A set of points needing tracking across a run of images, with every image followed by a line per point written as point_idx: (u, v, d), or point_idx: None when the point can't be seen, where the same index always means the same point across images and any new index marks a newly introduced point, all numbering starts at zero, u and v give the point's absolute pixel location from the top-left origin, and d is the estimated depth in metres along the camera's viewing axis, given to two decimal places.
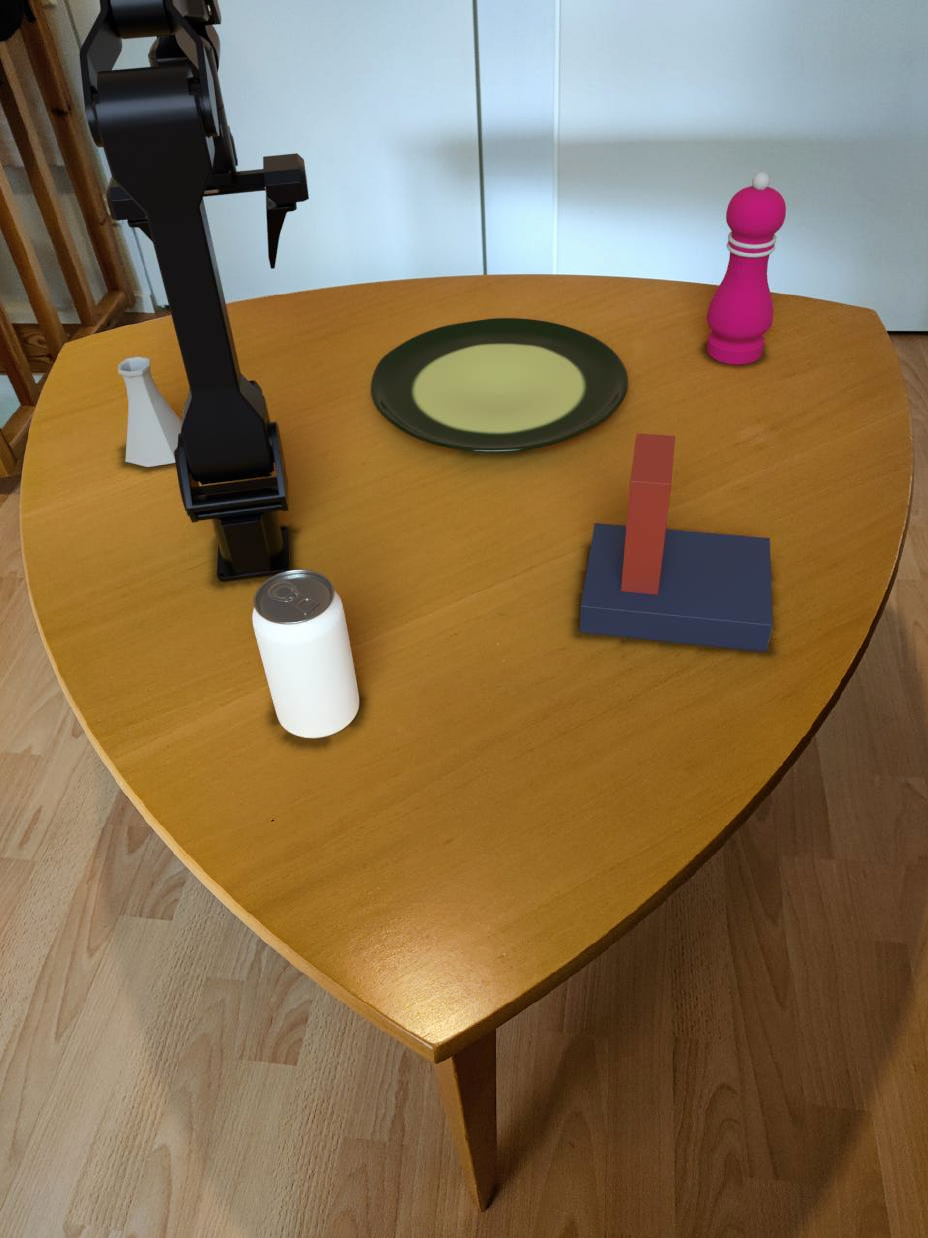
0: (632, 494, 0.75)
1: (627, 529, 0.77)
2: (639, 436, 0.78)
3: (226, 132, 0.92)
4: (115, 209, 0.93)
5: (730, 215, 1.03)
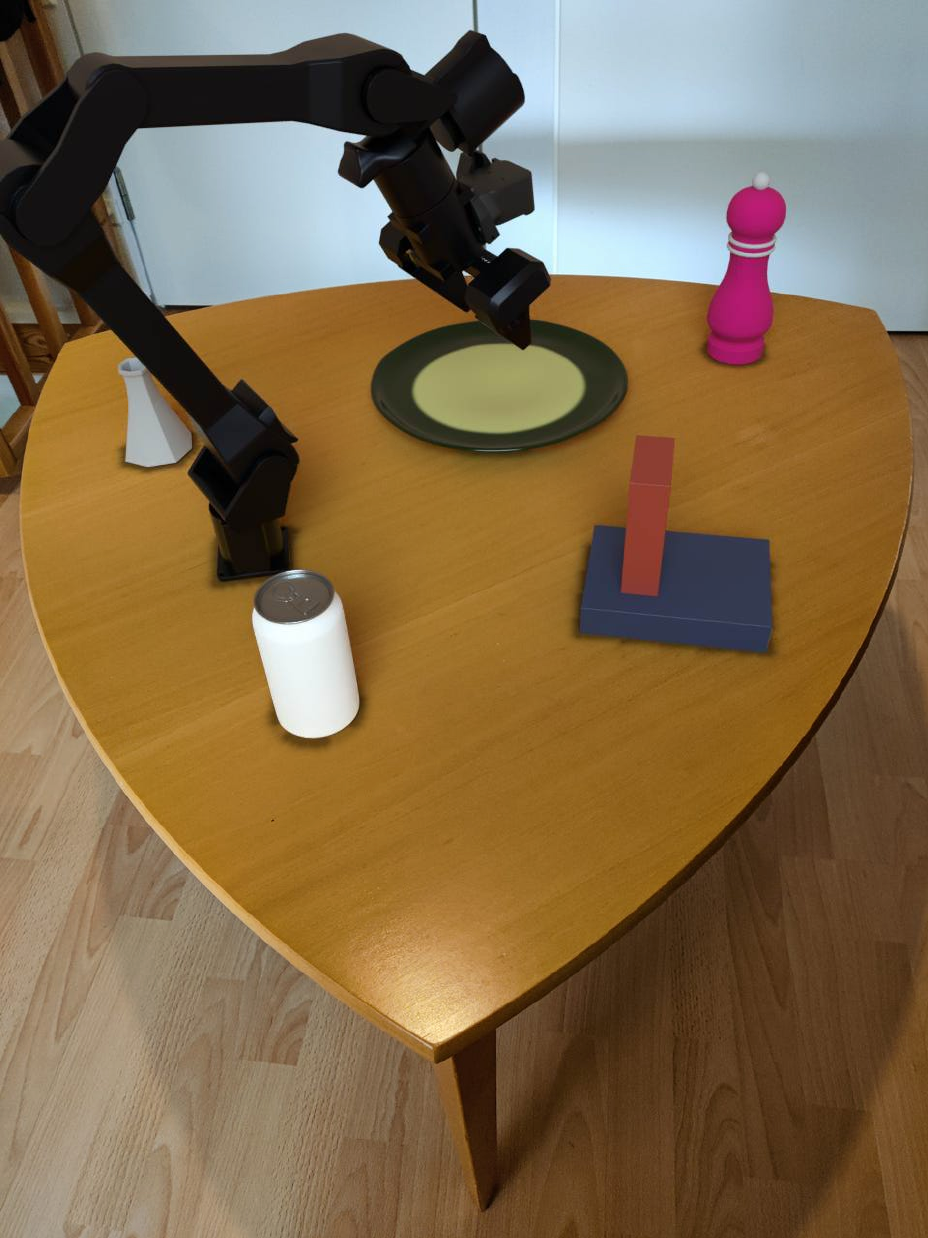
0: (632, 496, 0.75)
1: (627, 531, 0.77)
2: (639, 438, 0.78)
3: (443, 230, 0.80)
4: (383, 250, 0.91)
5: (730, 215, 1.03)
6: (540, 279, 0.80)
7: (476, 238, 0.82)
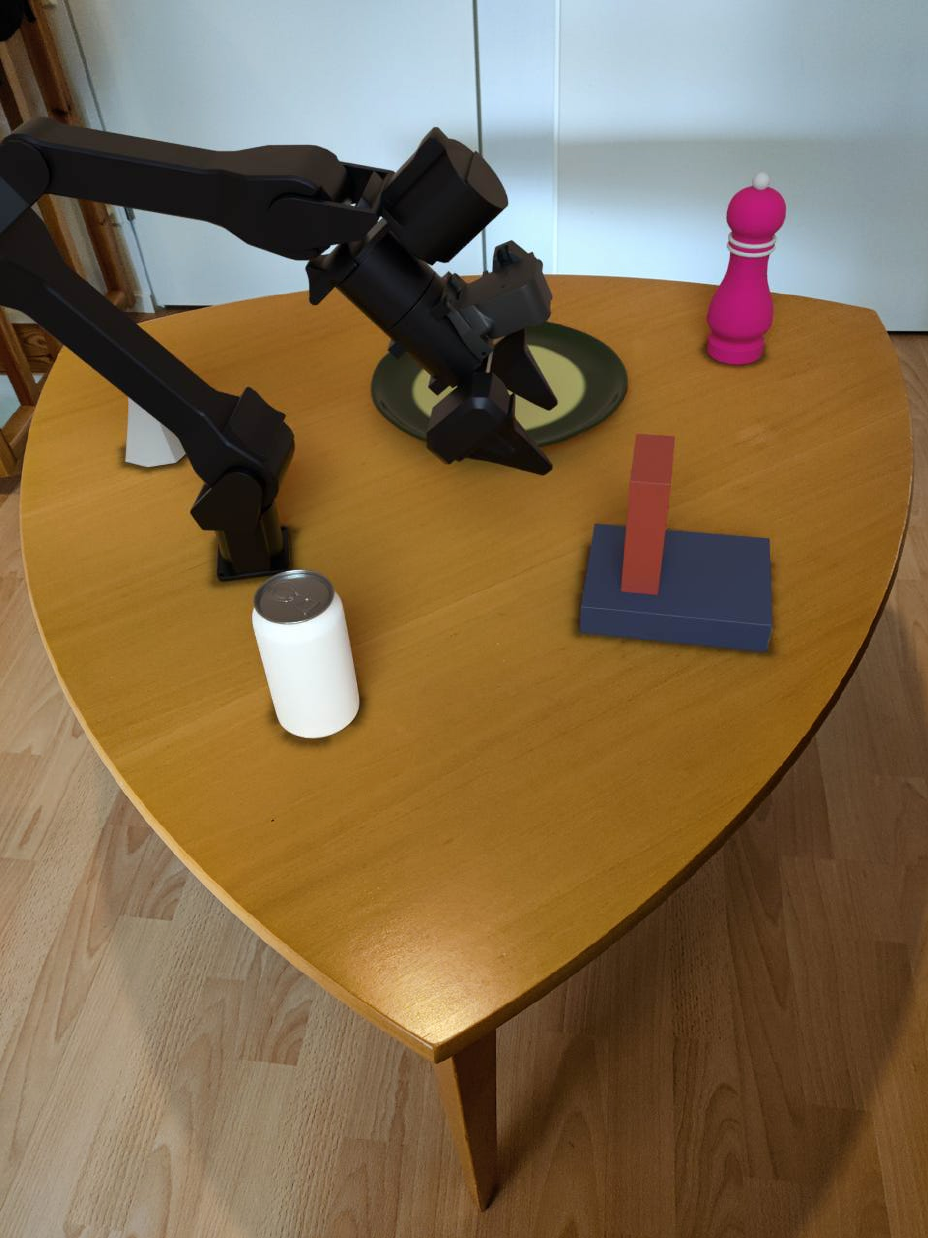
0: (632, 494, 0.75)
1: (627, 529, 0.77)
2: (639, 436, 0.78)
3: (415, 346, 0.72)
4: None
5: (730, 215, 1.03)
6: (483, 417, 0.68)
7: (465, 353, 0.72)
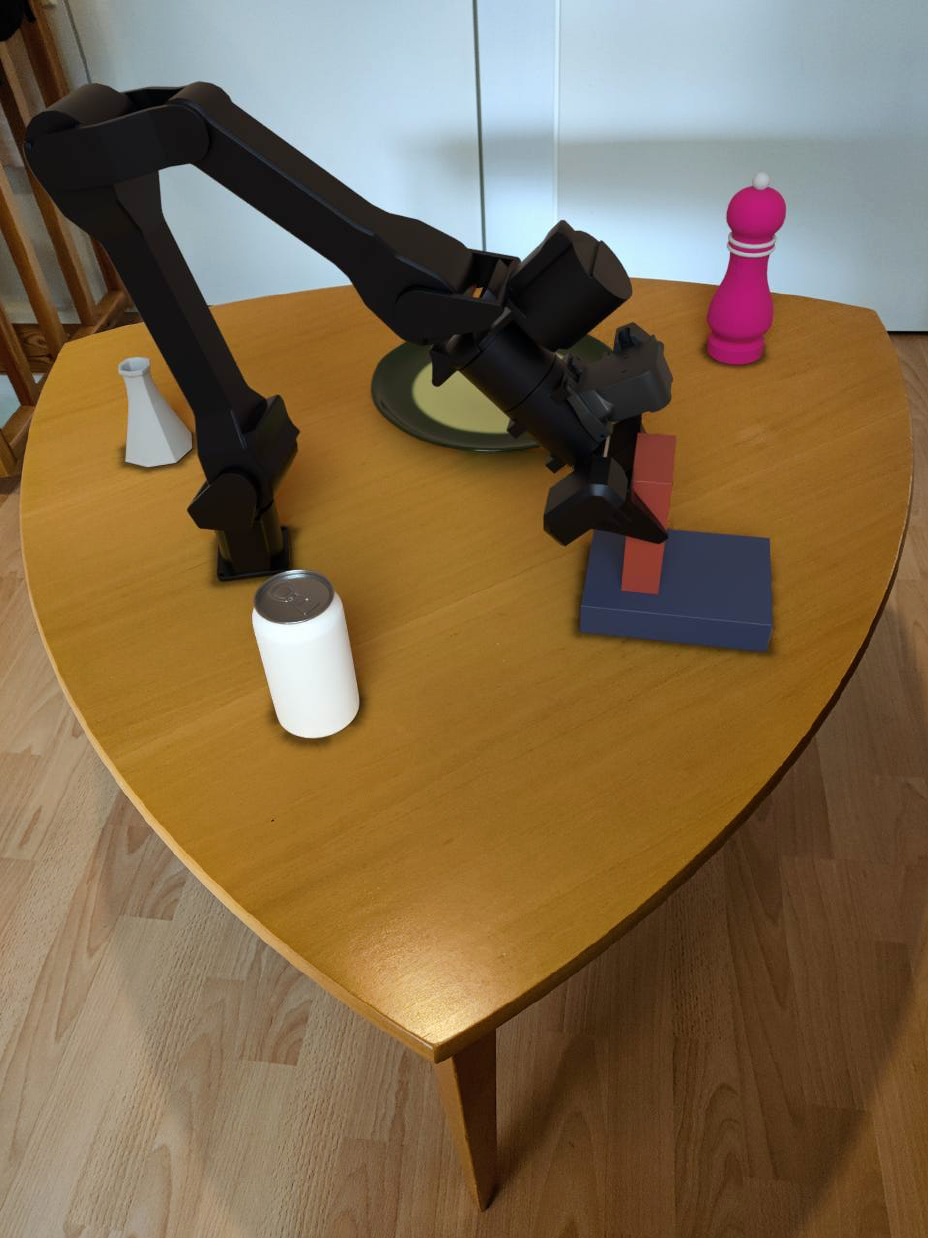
0: None
1: None
2: (640, 436, 0.78)
3: (534, 427, 0.73)
4: None
5: (730, 215, 1.03)
6: (600, 503, 0.68)
7: (583, 435, 0.73)
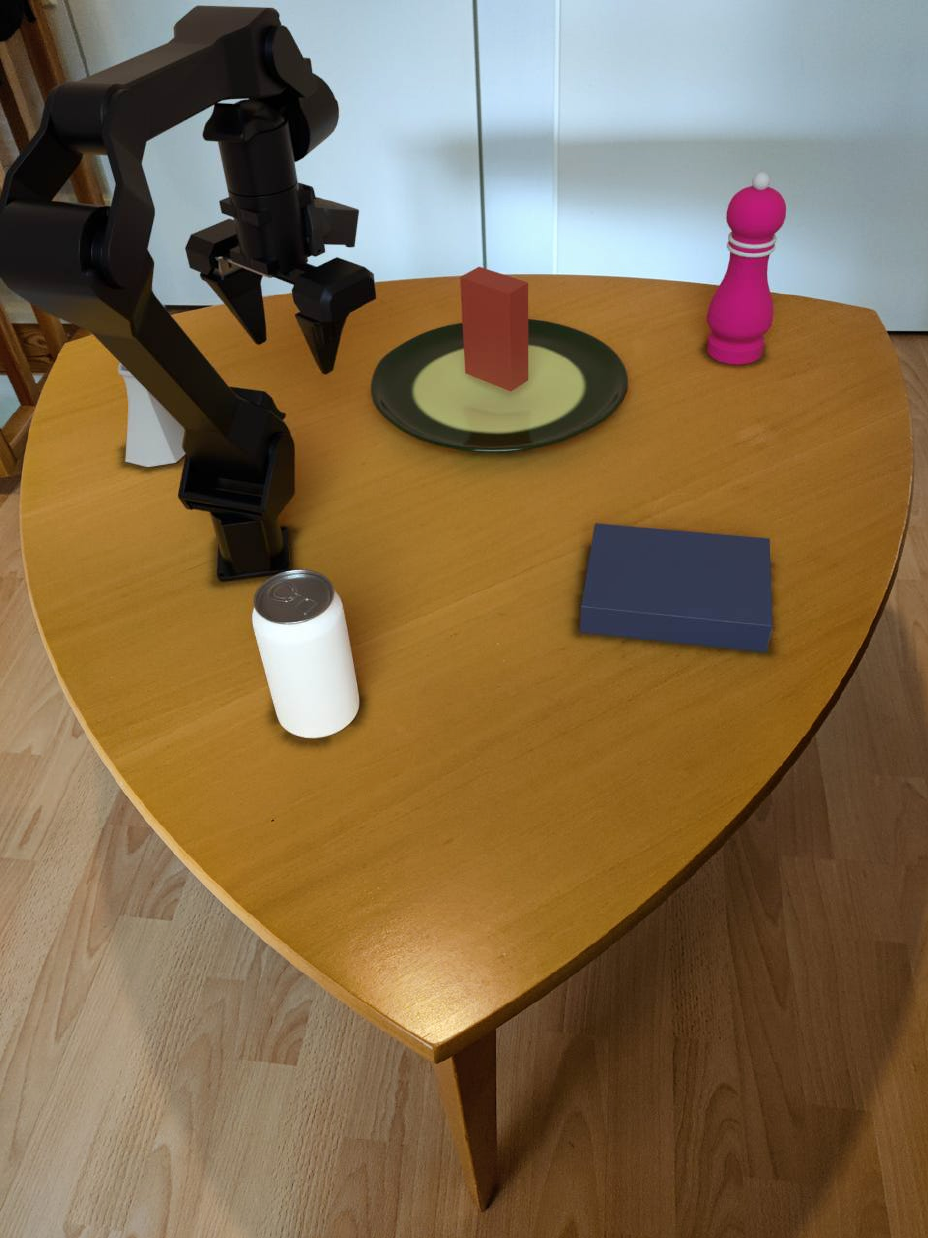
0: (511, 303, 0.99)
1: (510, 335, 1.01)
2: (465, 276, 1.01)
3: (280, 220, 0.81)
4: (188, 257, 0.89)
5: (730, 215, 1.03)
6: (370, 287, 0.82)
7: (304, 245, 0.84)
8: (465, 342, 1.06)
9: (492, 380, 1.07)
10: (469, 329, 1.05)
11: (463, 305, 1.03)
